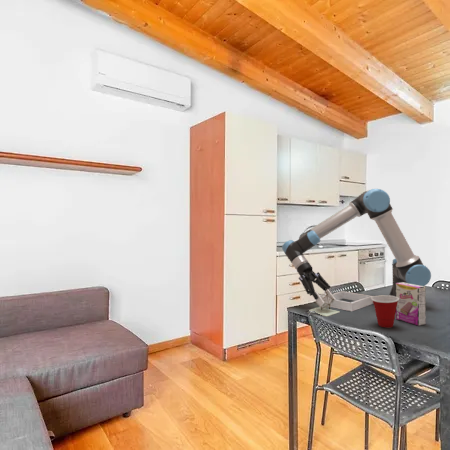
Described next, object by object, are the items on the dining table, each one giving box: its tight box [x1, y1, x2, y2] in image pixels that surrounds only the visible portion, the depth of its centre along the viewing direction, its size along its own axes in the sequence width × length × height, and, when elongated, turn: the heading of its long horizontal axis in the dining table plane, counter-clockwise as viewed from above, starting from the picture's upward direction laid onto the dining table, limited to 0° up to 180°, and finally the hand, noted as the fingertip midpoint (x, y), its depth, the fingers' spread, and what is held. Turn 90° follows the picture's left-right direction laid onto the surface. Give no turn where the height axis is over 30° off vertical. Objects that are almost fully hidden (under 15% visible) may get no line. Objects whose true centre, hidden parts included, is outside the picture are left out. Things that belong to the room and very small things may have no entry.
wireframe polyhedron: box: [313, 292, 334, 310], centre depth 169 cm, size 9×8×10 cm
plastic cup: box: [371, 294, 399, 329], centre depth 146 cm, size 11×11×12 cm
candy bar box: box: [395, 282, 427, 327], centre depth 150 cm, size 11×5×16 cm, turn 26°
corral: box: [329, 290, 374, 312], centre depth 182 cm, size 18×22×4 cm
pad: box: [308, 306, 341, 317], centre depth 168 cm, size 12×11×1 cm
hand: (328, 303), depth 166 cm, fingers closed on wireframe polyhedron, 8 cm apart
